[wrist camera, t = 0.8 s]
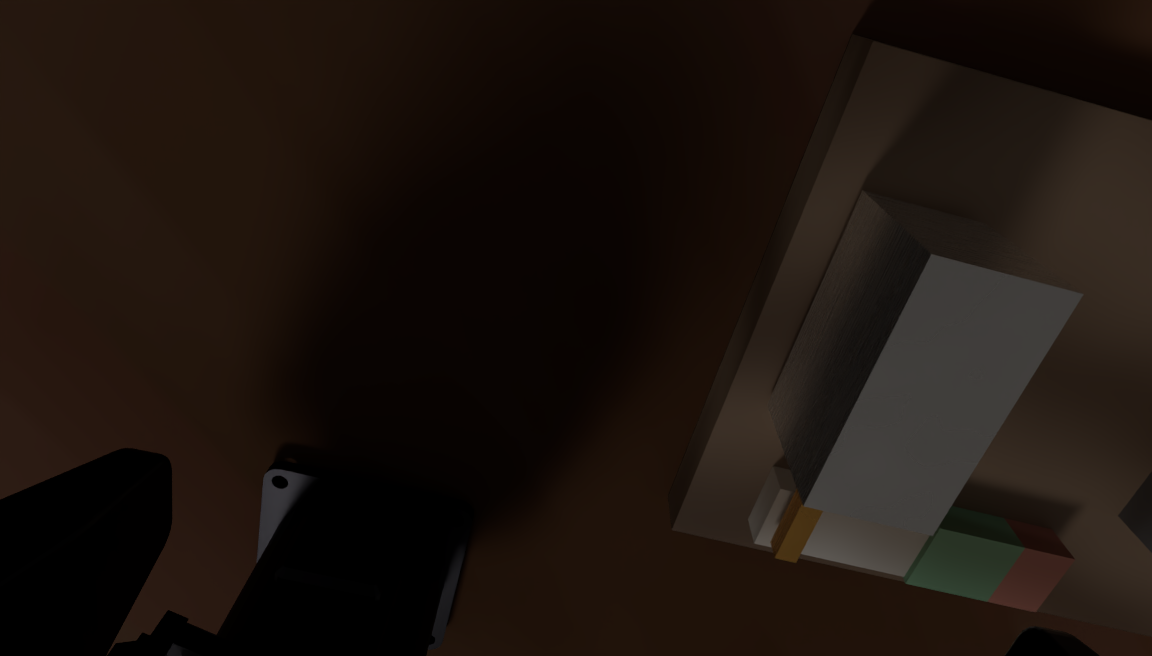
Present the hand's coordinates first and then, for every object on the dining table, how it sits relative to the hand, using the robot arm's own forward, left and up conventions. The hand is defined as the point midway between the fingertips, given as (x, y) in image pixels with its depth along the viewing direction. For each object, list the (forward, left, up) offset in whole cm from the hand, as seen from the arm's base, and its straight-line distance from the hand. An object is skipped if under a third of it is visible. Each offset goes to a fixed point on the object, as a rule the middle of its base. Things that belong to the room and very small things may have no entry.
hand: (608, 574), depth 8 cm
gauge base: (-2, -12, -13) cm, 18 cm away
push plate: (-2, -7, -11) cm, 13 cm away
